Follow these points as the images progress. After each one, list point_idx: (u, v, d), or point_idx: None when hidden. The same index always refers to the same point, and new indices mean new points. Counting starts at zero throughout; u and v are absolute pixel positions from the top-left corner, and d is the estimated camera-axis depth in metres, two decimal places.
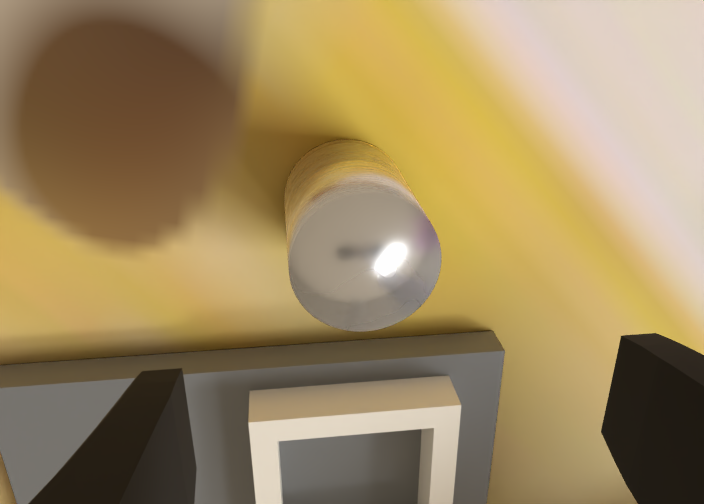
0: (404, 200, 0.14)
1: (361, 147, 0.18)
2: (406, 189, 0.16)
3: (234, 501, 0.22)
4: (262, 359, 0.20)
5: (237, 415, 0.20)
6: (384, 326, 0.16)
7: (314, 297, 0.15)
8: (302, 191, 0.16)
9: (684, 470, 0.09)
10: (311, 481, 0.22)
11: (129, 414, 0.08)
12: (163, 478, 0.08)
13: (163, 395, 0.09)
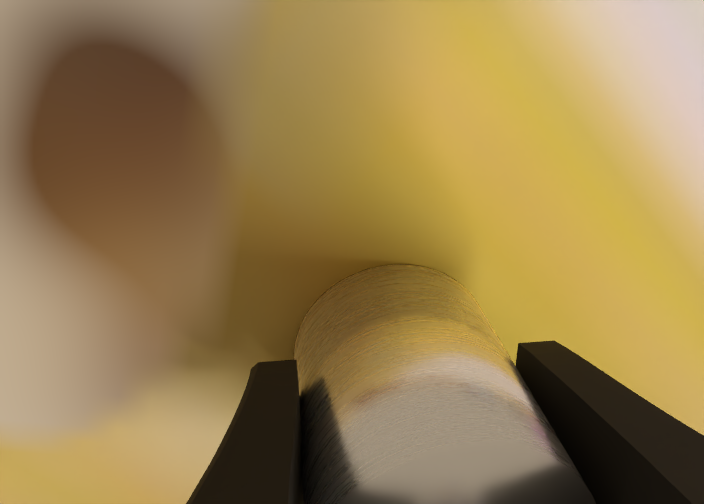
0: (541, 452, 0.07)
1: (426, 285, 0.10)
2: (523, 392, 0.09)
3: None
4: None
5: None
6: None
7: None
8: (330, 389, 0.09)
9: None
10: None
11: (265, 403, 0.08)
12: (298, 466, 0.08)
13: (290, 385, 0.09)
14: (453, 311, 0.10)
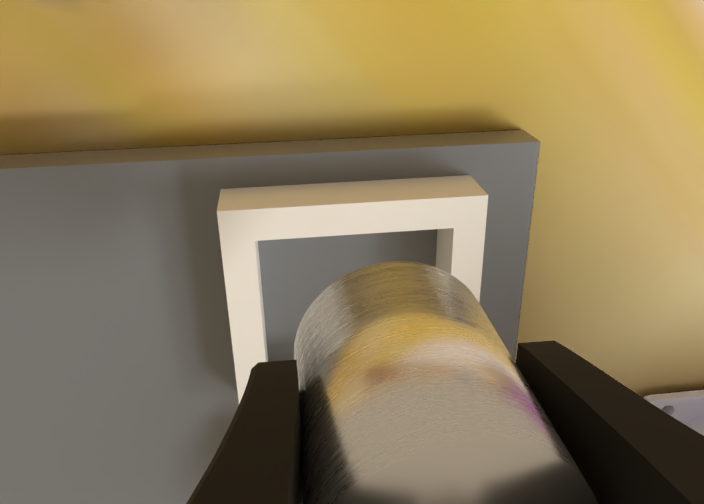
0: (542, 448, 0.07)
1: (427, 282, 0.10)
2: (524, 389, 0.08)
3: (207, 346, 0.18)
4: (236, 151, 0.16)
5: (206, 225, 0.16)
6: None
7: None
8: (330, 385, 0.09)
9: None
10: (300, 321, 0.18)
11: (265, 403, 0.08)
12: (298, 466, 0.08)
13: (290, 385, 0.09)
14: (454, 308, 0.10)
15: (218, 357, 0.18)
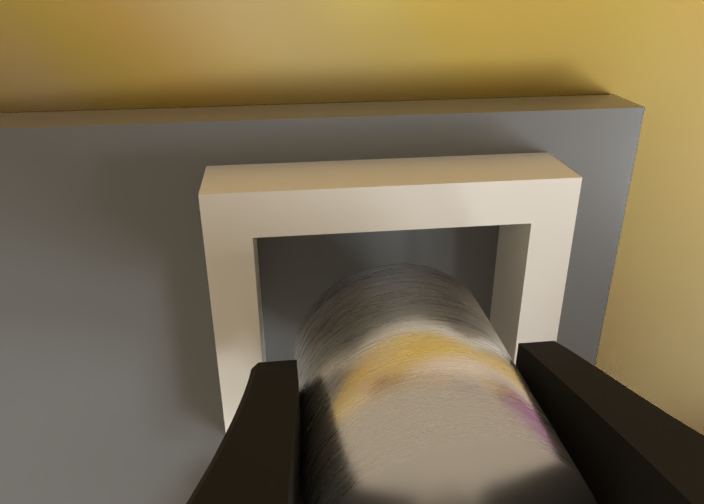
0: (542, 451, 0.07)
1: (427, 284, 0.10)
2: (524, 391, 0.08)
3: (187, 378, 0.13)
4: (229, 114, 0.12)
5: (186, 215, 0.12)
6: None
7: None
8: (330, 387, 0.09)
9: None
10: None
11: (265, 403, 0.08)
12: (298, 466, 0.08)
13: (290, 385, 0.09)
14: (454, 310, 0.10)
15: (203, 392, 0.14)
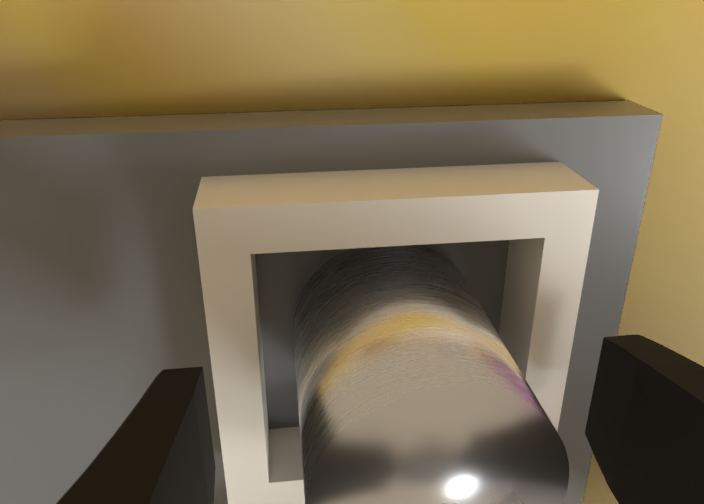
0: (514, 396, 0.08)
1: (415, 258, 0.11)
2: (501, 349, 0.09)
3: None
4: (225, 122, 0.11)
5: (180, 229, 0.11)
6: None
7: None
8: (326, 347, 0.10)
9: (664, 472, 0.09)
10: None
11: (153, 412, 0.08)
12: (187, 476, 0.08)
13: (186, 393, 0.09)
14: (439, 280, 0.11)
15: None
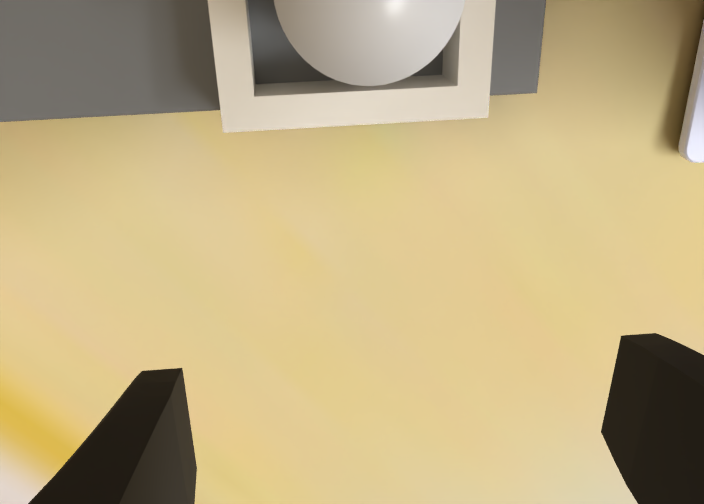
0: None
1: None
2: None
3: None
4: None
5: None
6: None
7: None
8: None
9: (684, 470, 0.09)
10: None
11: (129, 414, 0.08)
12: (163, 478, 0.08)
13: (163, 395, 0.09)
14: None
15: None
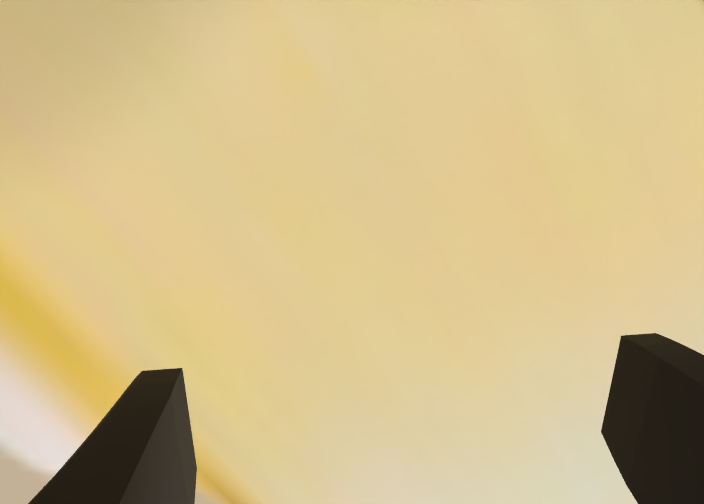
0: None
1: None
2: None
3: None
4: None
5: None
6: None
7: None
8: None
9: (685, 470, 0.09)
10: None
11: (129, 414, 0.08)
12: (163, 478, 0.08)
13: (163, 395, 0.09)
14: None
15: None
